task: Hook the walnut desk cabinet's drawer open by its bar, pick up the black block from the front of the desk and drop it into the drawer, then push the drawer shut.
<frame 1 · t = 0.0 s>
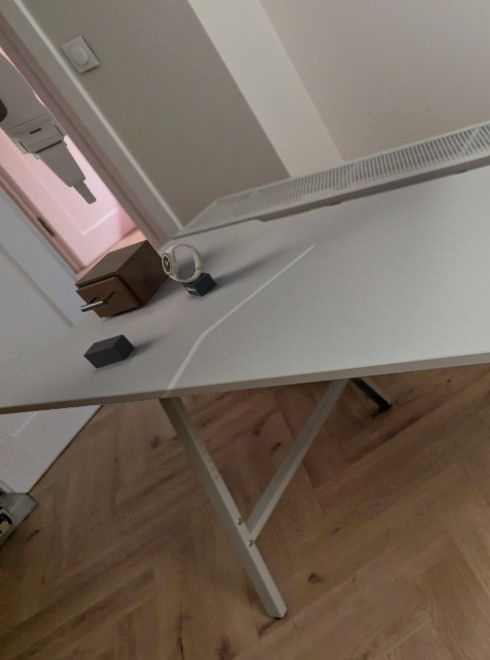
hand: (90, 199, 114), 24 cm above the table, tool pointing down, fingers open, 8 cm apart
cabinet: (139, 294, 131), on the table
watch: (203, 290, 120), on the table
black block: (115, 357, 107), on the table
drawer: (116, 288, 124), point 5 cm above the table, slide at 0.5 cm
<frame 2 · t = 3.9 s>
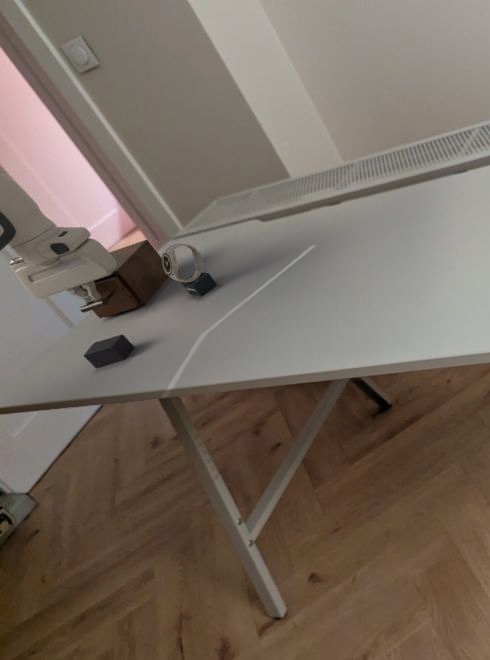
hand: (94, 300, 118), 6 cm above the table, tool pointing down, fingers closed, pressing on drawer
drawer: (116, 288, 124), point 5 cm above the table, slide at 0.6 cm, touching gripper
everything else where it was.
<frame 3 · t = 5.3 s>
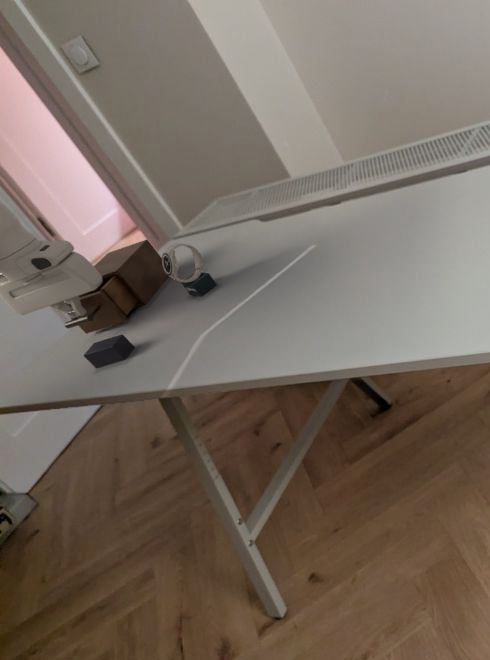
hand: (79, 316, 113), 6 cm above the table, tool pointing down, fingers closed, pressing on drawer
drawer: (103, 302, 120), point 5 cm above the table, slide at 6.5 cm, touching gripper
everything else where it was.
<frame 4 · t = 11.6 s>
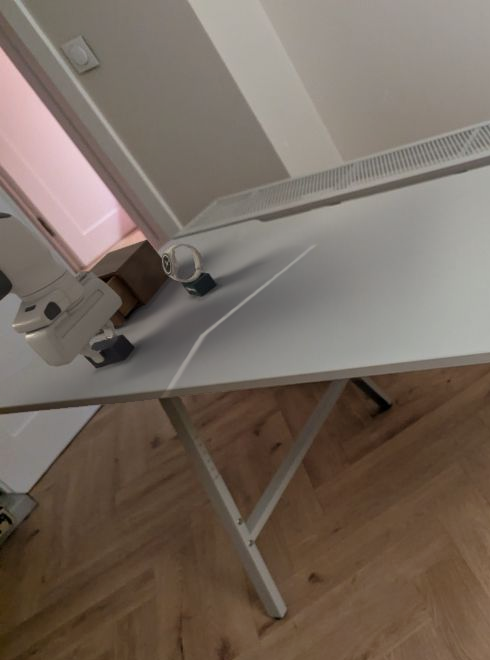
hand: (109, 351, 106), 2 cm above the table, tool pointing down, fingers closed on black block, 4 cm apart
black block: (115, 357, 107), on the table, touching gripper
drawer: (101, 304, 119), point 5 cm above the table, slide at 7.1 cm
everything else where it was.
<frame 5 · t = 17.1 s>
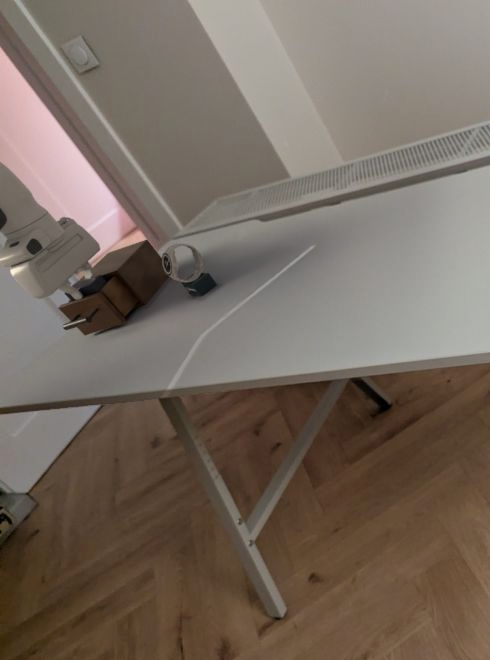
hand: (88, 290, 117), 9 cm above the table, tool pointing down, fingers closed on black block, 4 cm apart
black block: (94, 296, 118), point 7 cm above the table, touching gripper
drawer: (101, 304, 119), point 5 cm above the table, slide at 7.1 cm, touching gripper
everything else where it was.
when the fingers open (11 cm above the table, at t = 27.2 s): black block drops 7 cm, resting on drawer.
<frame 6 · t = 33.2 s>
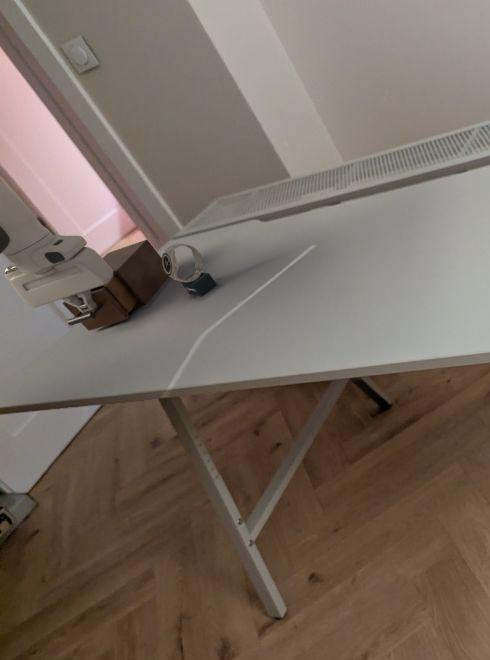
hand: (90, 309, 116), 6 cm above the table, tool pointing down, fingers closed
black block: (113, 311, 122), point 2 cm above the table, touching drawer
drawer: (105, 300, 121), point 5 cm above the table, slide at 5.4 cm, touching gripper, black block
everything else where it was.
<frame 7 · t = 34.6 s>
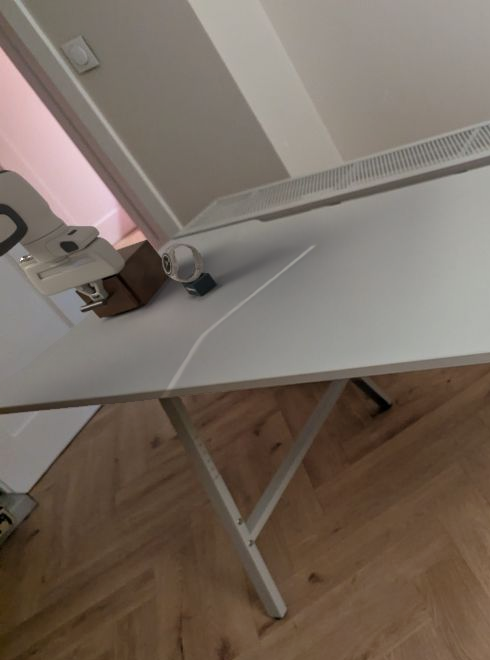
hand: (101, 298, 120), 6 cm above the table, tool pointing down, fingers closed, pressing on drawer
black block: (123, 299, 125), point 2 cm above the table, touching drawer
drawer: (116, 288, 124), point 5 cm above the table, slide at 0.6 cm, touching gripper, black block
everything else where it was.
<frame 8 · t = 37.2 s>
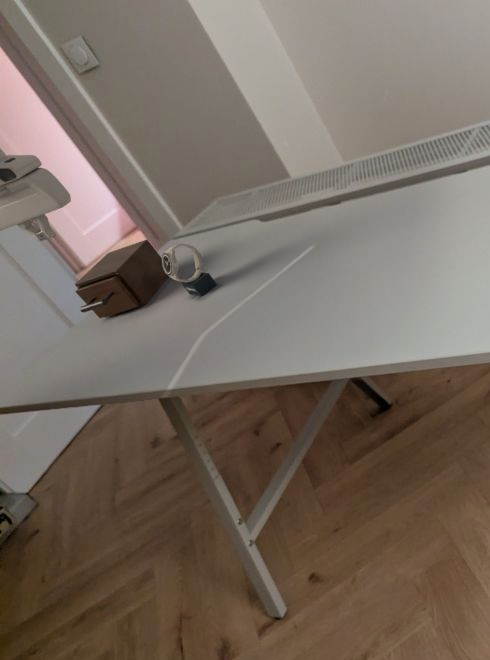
hand: (47, 238, 110), 21 cm above the table, tool pointing down, fingers closed
drawer: (116, 288, 124), point 5 cm above the table, slide at 0.6 cm, touching black block
everything else where it was.
at the end: drawer pulled out 7.1 cm at the most during the clip, back to 0.6 cm at the end; black block inside the target area in the cabinet (5.3 cm from its centre), point 2.0 cm above the cabinet's base; drawer slide at 0.6 cm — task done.
